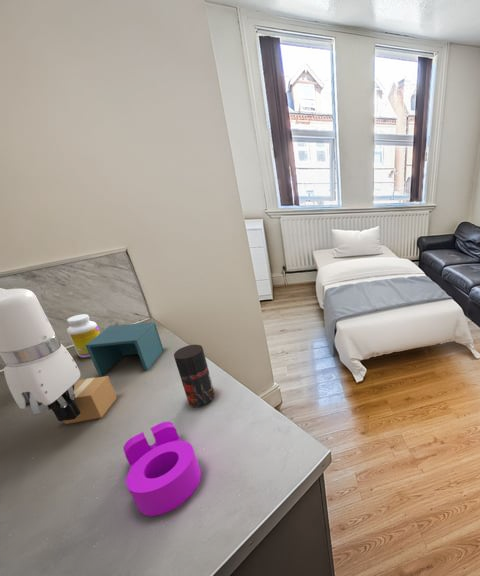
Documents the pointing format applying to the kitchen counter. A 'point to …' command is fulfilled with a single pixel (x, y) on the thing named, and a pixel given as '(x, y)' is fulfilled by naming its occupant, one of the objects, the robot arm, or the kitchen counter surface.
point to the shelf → (125, 345)
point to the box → (93, 398)
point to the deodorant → (194, 375)
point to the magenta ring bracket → (161, 470)
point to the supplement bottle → (82, 333)
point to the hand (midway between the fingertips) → (70, 417)
